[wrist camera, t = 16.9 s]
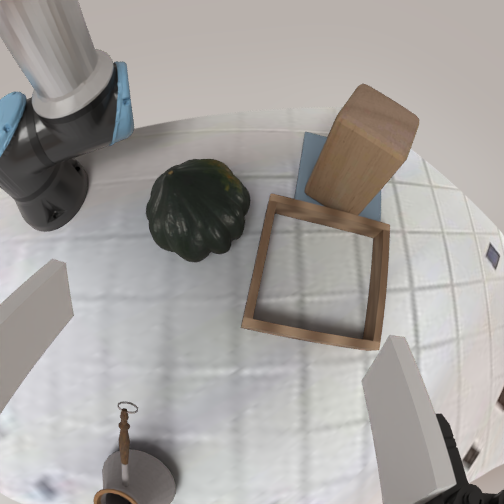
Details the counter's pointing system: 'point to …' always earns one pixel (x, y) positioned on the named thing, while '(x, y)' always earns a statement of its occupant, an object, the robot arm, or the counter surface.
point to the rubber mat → (308, 160)
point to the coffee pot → (134, 474)
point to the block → (362, 151)
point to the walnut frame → (377, 279)
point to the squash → (197, 209)
